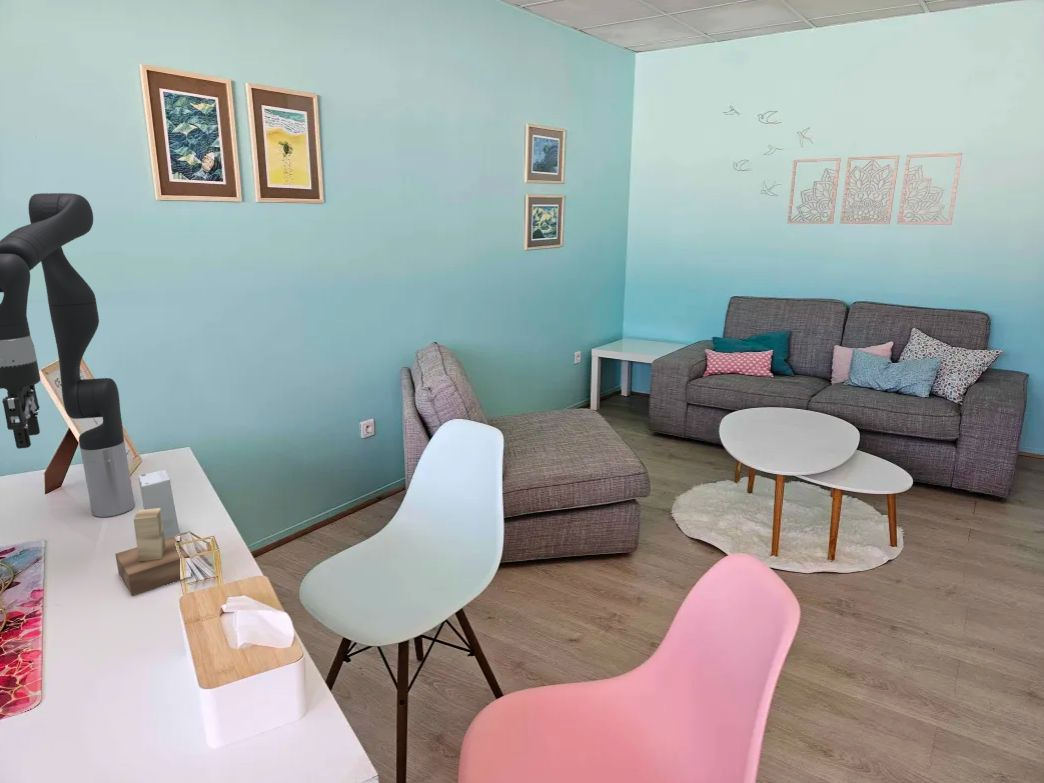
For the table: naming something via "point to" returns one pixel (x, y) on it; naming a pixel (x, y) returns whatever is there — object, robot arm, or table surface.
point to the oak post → (149, 534)
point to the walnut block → (150, 568)
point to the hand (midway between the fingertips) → (29, 440)
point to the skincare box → (160, 499)
